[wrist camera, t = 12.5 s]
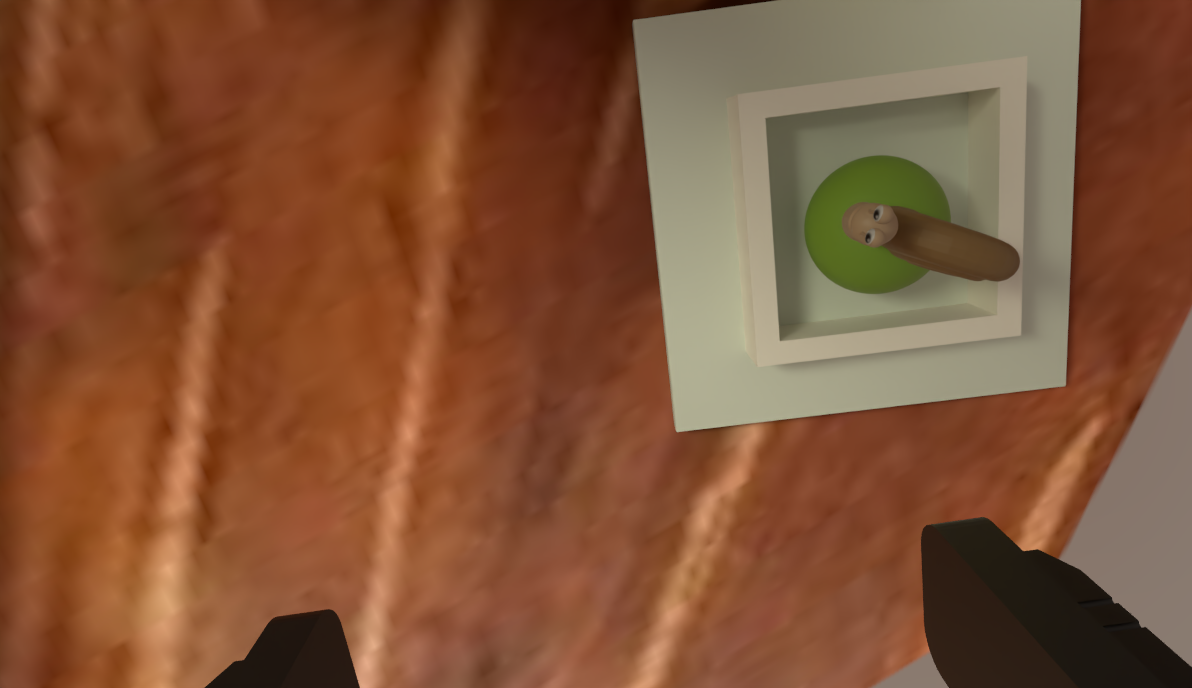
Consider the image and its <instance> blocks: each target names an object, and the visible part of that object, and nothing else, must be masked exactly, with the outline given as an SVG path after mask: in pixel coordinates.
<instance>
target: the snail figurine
mask: <svg viewBox="0 0 1192 688" xmlns="http://www.w3.org/2000/svg"><path fill="white" fill-rule="evenodd" d="M804 234H805V241H806V245H807V249H808V252H809V254H810V256H811V258H812V260H813V262H814V263H815V265H816V266H817V268H818V269H819V270H820V271H821V272H822V273H823V274H824V275H825V276H826V277H827V278H828V279H829V280H831V281H832V282H834V283H835V284H837V285H839V286H841V287H843V288H845V289H848V290H851V291H854V292H858V293H864V294H882V293H889V292H893V291H897V290H900V289H902V288H905V287H907V286H909V285H911V284H913V283H915V282H916V281H918V280H919V279H921V278H922V277H923V276H924V275H925V274H927V273H928V272H929V271H930V270H932V271H935V272H939V273H943V274H947V275H951V276H956V277H961V278H964V279H968V280H972V281H982V280H989V281H995V282H999V281H1004V280H1007V279H1009V278H1010V277H1012V276H1013V275H1014V274H1015V273H1016V272H1017V270H1018V268H1019V265H1020V257H1019V254H1018V252H1017V251H1016V249H1015V248H1014V247H1013V246H1011V245H1010V244H1008V243H1006V242H1004V241H1002V240H999V239H997V238H994V237H992V236H989V235H986V234H983V233H981V232H978V231H975V230H971V229H968V228H965V227H963V226H960V225H957V224H954V223H951V214H950V207H949V203H948V200H947V197H946V195H945V193H944V191H943V189H942V187H941V186H940V184H939V183H938V182H937V180H936V179H935V178H934V177H933V176H932V175H931V174H930V173H929V172H928V171H927V170H925V169H924V168H923V167H921V166H919V165H918V164H916V163H914V162H912V161H909V160H907V159H904V158H900V157H895V156H887V155H877V156H868V157H863V158H860V159H856V160H854V161H851V162H849V163H847V164H845V165H843V166H841V167H840V168H838V169H837V170H835V171H834V172H833V173H831V174H830V175H829V176H828V177H827V178H826V179H825V180H824V181H823V182H822V183H821V184H820V186H819V187H818V188H817V190H816V191H815V193H814V195H813V196H812V198H811V200H810V203H809V205H808V208H807V212H806V216H805V223H804Z"/></svg>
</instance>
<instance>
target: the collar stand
mask: <svg viewBox="0 0 1192 688" xmlns="http://www.w3.org/2000/svg"><path fill="white" fill-rule="evenodd" d="M1080 12H1081V0H777V1H769V2H762V3H755V4H747V5H740V6H732V7H725V8H718V9H710V10H703V11H696V12H688V13H681V14H674V15H666V16H659V17H651V18H644V19H637V20H633V23H632V28H633V37H634V47H635V56H636V66H637V75H638V85H639V94H640V104H641V113H642V123H643V132H644V142H645V151H646V161H647V170H648V180H649V189H650V199H651V208H652V218H653V227H654V237H655V246H656V256H657V265H658V275H659V284H660V294H661V303H662V313H663V322H664V332H665V341H666V351H667V360H668V370H669V379H670V389H671V398H672V408H673V417H674V425H675V429H676V432H682V431H690V430H698V429H707V428H715V427H724V426H732V425H741V424H749V423H758V422H766V421H775V420H783V419H792V418H800V417H808V416H817V415H825V414H834V413H842V412H851V411H859V410H868V409H876V408H885V407H893V406H901V405H910V404H918V403H927V402H935V401H944V400H952V399H961V398H969V397H978V396H986V395H995V394H1003V393H1011V392H1020V391H1028V390H1037V389H1045V388H1054V387H1062V386H1066V368H1067V342H1068V317H1069V291H1070V266H1071V241H1072V215H1073V190H1074V164H1075V139H1076V113H1077V88H1078V62H1079V37H1080ZM877 155H887V156H895V157H900V158H904V159H907V160H909V161H912V162H914V163H916V164H918V165H919V166H921V167H923V168H924V169H925V170H927V171H928V172H929V173H930V174H931V175H932V176H933V177H934V178H935V179H936V180H937V182H938V183H939V184H940V186H941V187H942V189H943V191H944V193H945V195H946V197H947V200H948V203H949V207H950V214H951V223H954V224H957V225H960V226H963V227H965V228H968V229H971V230H975V231H978V232H981V233H983V234H986V235H989V236H992V237H994V238H997V239H999V240H1002V241H1004V242H1006V243H1008V244H1010V245H1011V246H1013V247H1014V248H1015V249H1016V251H1017V252H1018V254H1019V257H1020V265H1019V268H1018V270H1017V272H1016V273H1015V274H1014V275H1013V276H1012V277H1010V278H1009V279H1007V280H1004V281H999V282H995V281H989V280H982V281H972V280H968V279H964V278H961V277H956V276H951V275H947V274H943V273H939V272H935V271H932V270H930V271H929V272H928V273H927V274H925V275H924V276H923V277H922V278H921V279H919V280H918V281H916V282H915V283H913V284H911V285H909V286H907V287H905V288H902V289H900V290H897V291H893V292H889V293H882V294H864V293H858V292H854V291H851V290H848V289H845V288H843V287H841V286H839V285H837V284H835V283H834V282H832V281H831V280H829V279H828V278H827V277H826V276H825V275H824V274H823V273H822V272H821V271H820V270H819V269H818V268H817V266H816V265H815V263H814V262H813V260H812V258H811V256H810V254H809V252H808V249H807V245H806V241H805V234H804V223H805V216H806V212H807V208H808V205H809V203H810V200H811V198H812V196H813V195H814V193H815V191H816V190H817V188H818V187H819V186H820V184H821V183H822V182H823V181H824V180H825V179H826V178H827V177H828V176H829V175H830V174H831V173H833V172H834V171H835V170H837V169H838V168H840V167H841V166H843V165H845V164H847V163H849V162H851V161H854V160H856V159H860V158H863V157H868V156H877Z"/></svg>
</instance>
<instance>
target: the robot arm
mask: <svg viewBox="0 0 1192 688" xmlns="http://www.w3.org/2000/svg"><path fill="white" fill-rule="evenodd" d="M921 552H922V578H923V605H924V626H925V633H926V638H927V642H928V646H929V649H930V652H931V655H932V658H933V660H934V663H935V665H936V667H937V669H938V671H939V673H940V675H941V676H942V678H943V679H944V681H945V682H946V684H947V686H948V687H949V688H1192V667H1191V666H1189V665H1188V664H1187V663H1186V662H1185V661H1184V660H1183V659H1181V658H1180V657H1179V656H1178V655H1177V654H1176V653H1174V652H1173V651H1172V650H1171V649H1170V648H1169V647H1168V646H1167V645H1166V644H1164V643H1163V642H1162V641H1161V640H1160V639H1159V638H1158V637H1156V636H1155V635H1154V634H1153V633H1152V632H1151V631H1149V630H1148V629H1147V628H1146V627H1144V628H1141V626H1140V625H1139V621H1138V620H1137V619H1136V618H1135V617H1134V616H1132V615H1131V614H1130V613H1129V612H1128V611H1127V610H1125V609H1124V608H1123V607H1122V606H1121V605H1120V604H1119V603H1116V604H1114V603H1113V601H1112V597H1111V596H1109V595H1108V594H1107V593H1106V592H1105V591H1104V590H1103V589H1101V588H1100V587H1099V586H1098V585H1097V584H1096V583H1095V582H1094V581H1092V580H1091V579H1090V578H1089V577H1088V576H1087V575H1086V574H1084V573H1083V572H1082V571H1081V570H1079V569H1077V568H1075V567H1073V566H1071V565H1069V564H1067V563H1065V562H1063V561H1061V560H1059V559H1057V558H1055V557H1053V556H1050V555H1048V554H1046V553H1044V552H1042V551H1040V550H1038V549H1037V550H1030V551H1022V550H1021V549H1020V548H1019V547H1018V546H1017V545H1016V544H1015V543H1014V542H1013V541H1012V540H1011V539H1010V538H1009V537H1008V536H1007V535H1005V534H1004V533H1003V532H1002V531H1001V530H1000V529H999V528H998V527H997V526H996V525H995V524H994V523H993V522H992V521H990V520H989V519H987V518H984V517H980V518H973V519H966V520H959V521H952V522H945V523H938V524H931V525H926V526H925V527H924V529H923V531H922V536H921ZM205 688H360V687H359V683H358V680H357V676H356V673H355V670H354V666H353V663H352V659H351V656H350V652H349V649H348V646H347V642H346V639H345V635H344V632H343V628H342V625H341V622H340V620H339V617H338V616H337V614H336V613H335V612H334V611H333V610H330V609H328V610H320V611H313V612H307V613H300V614H293V615H286V616H279V617H275V618H273V619H272V620H271V621H270V622H269V623H268V624H267V626H266V627H265V629H264V630H263V632H262V634H261V635H260V637H259V638H258V640H257V641H256V643H255V644H254V646H253V647H252V649H251V650H250V652H249V653H248V655H247V656H246V658H245V659H244V660H242V661H235V662H233V663H232V664H231V665H230V666H229V667H228V668H227V669H225V670H224V671H223V672H222V673H221V674H220V675H219V676H217V677H216V678H215V679H214V680H213V681H212V682H211V683H209V684H208V685H207V686H206V687H205Z"/></svg>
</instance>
